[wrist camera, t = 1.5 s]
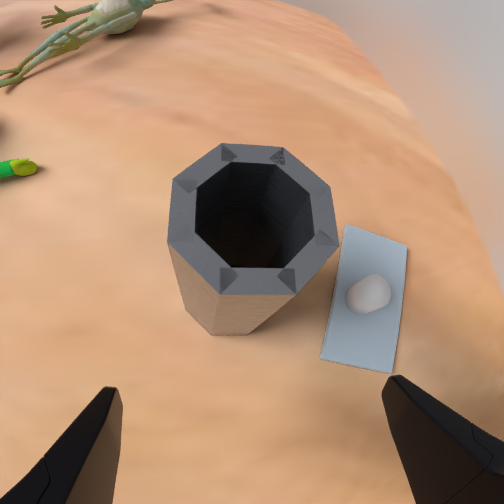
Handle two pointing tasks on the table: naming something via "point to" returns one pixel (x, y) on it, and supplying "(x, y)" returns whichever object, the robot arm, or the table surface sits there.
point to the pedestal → (366, 302)
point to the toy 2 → (82, 30)
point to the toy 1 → (17, 167)
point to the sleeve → (247, 234)
